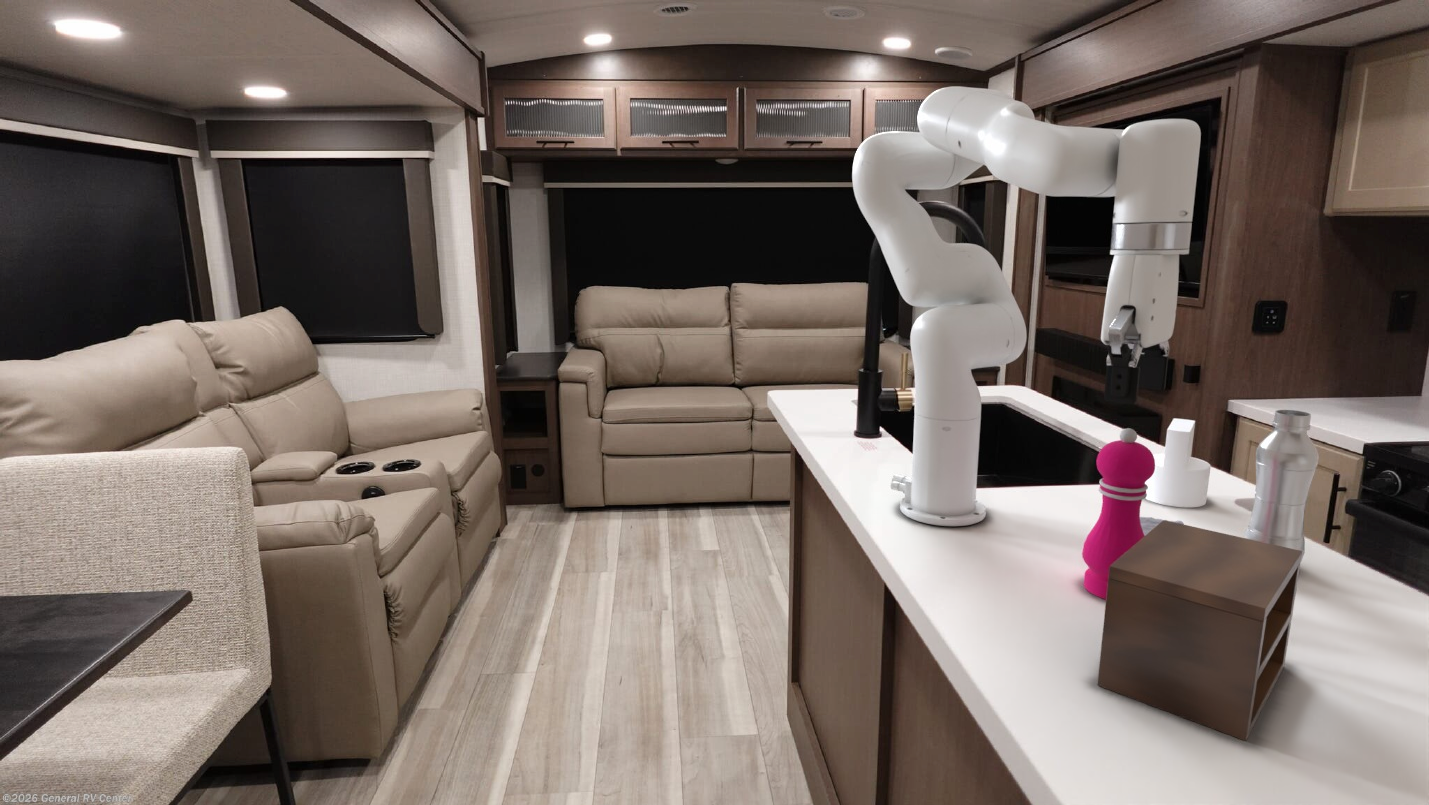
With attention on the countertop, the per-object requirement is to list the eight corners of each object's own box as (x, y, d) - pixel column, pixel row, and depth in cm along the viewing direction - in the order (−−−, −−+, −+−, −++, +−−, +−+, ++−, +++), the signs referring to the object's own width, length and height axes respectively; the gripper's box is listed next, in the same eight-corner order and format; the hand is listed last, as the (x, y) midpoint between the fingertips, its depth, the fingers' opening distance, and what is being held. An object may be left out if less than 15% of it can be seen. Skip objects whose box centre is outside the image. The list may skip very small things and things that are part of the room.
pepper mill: (1144, 609, 89) (1163, 439, 84) (1075, 595, 92) (1090, 431, 88) (1148, 585, 95) (1166, 425, 90) (1083, 572, 98) (1098, 418, 94)
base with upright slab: (1145, 485, 131) (1153, 415, 128) (1208, 495, 126) (1217, 422, 123) (1137, 500, 124) (1144, 427, 121) (1203, 511, 119) (1213, 435, 116)
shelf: (1097, 685, 74) (1109, 566, 72) (1151, 625, 85) (1163, 519, 83) (1245, 741, 66) (1265, 608, 63) (1284, 666, 77) (1302, 550, 74)
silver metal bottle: (1235, 566, 99) (1256, 414, 95) (1245, 550, 104) (1266, 404, 100) (1297, 581, 95) (1322, 422, 91) (1305, 564, 100) (1329, 412, 96)
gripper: (1138, 240, 93) (1125, 381, 97) (1083, 242, 81) (1071, 403, 85) (1210, 239, 88) (1194, 388, 91) (1163, 241, 76) (1146, 413, 80)
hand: (1135, 395), depth 88 cm, fingers open, 9 cm apart
